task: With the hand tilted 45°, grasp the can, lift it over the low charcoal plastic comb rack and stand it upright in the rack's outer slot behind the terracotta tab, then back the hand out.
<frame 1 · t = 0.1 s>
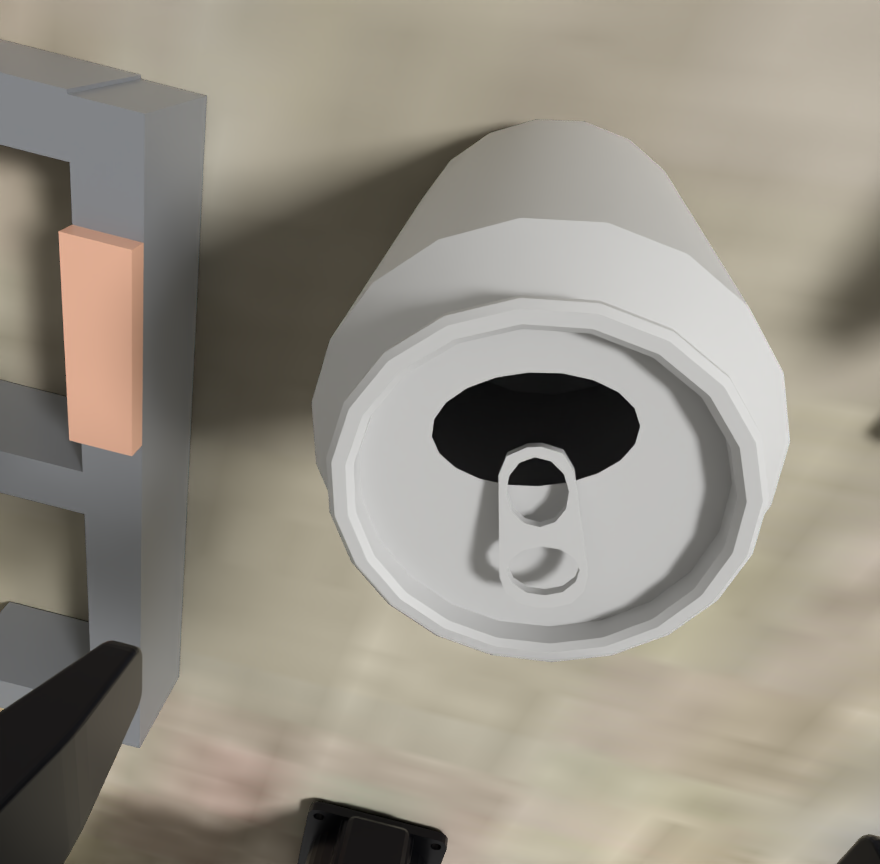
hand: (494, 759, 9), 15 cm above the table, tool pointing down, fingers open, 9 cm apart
can: (546, 257, 21), on the table
comb rack: (87, 426, 26), on the table
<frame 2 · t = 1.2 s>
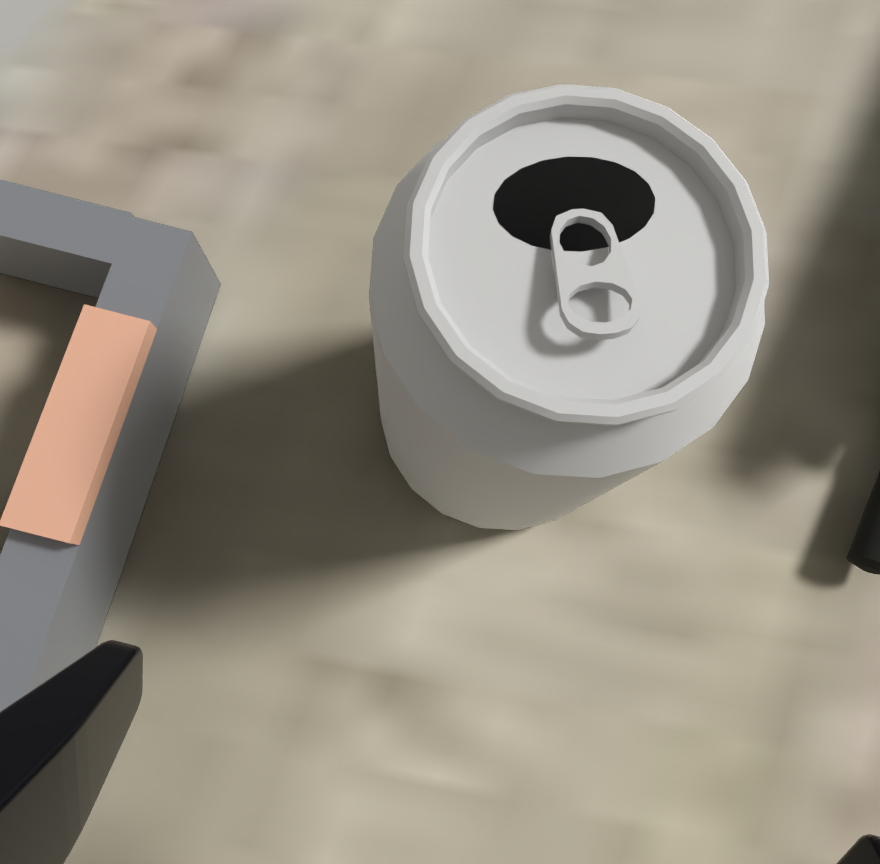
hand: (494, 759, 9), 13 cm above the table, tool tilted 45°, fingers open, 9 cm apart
can: (497, 417, 24), on the table
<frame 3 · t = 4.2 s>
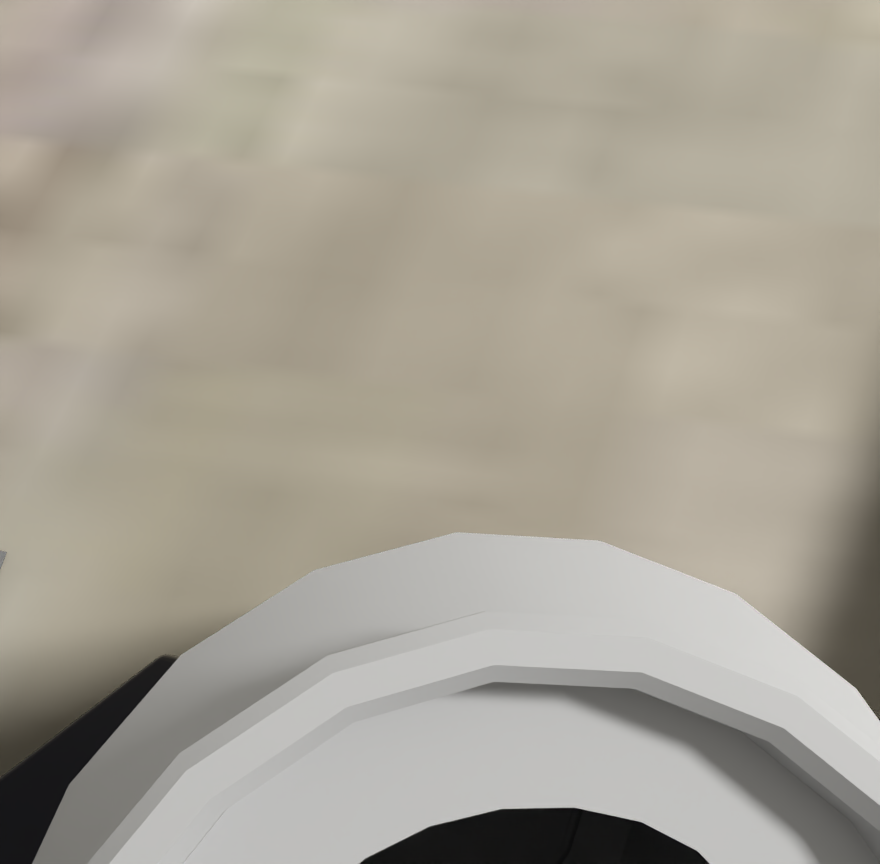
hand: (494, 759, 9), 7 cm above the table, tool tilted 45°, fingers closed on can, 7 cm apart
can: (437, 766, 15), on the table, touching gripper
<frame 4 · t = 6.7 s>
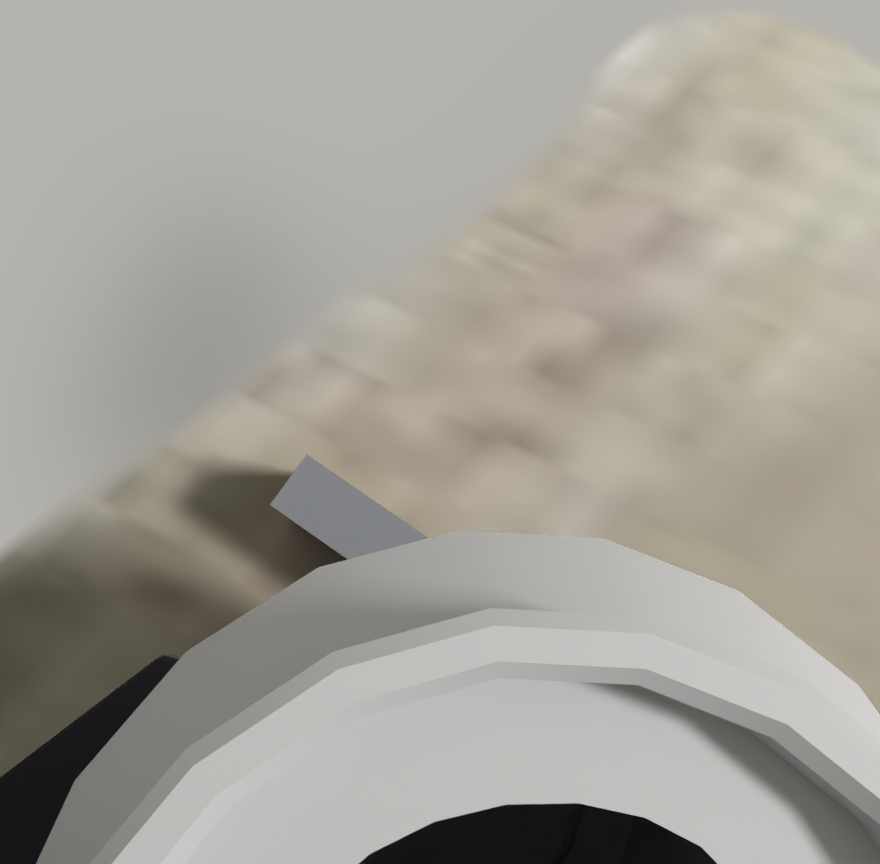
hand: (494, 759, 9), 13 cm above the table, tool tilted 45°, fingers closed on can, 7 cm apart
can: (439, 764, 15), point 6 cm above the table, touching gripper
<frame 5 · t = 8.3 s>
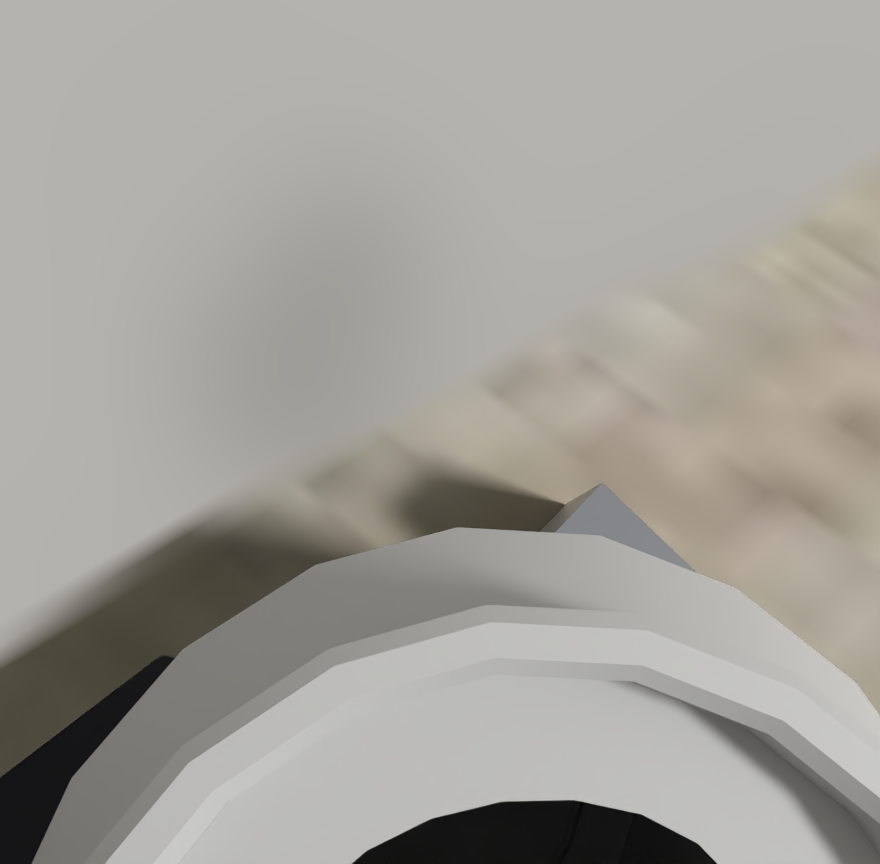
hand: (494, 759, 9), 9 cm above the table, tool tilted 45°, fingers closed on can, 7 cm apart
can: (438, 763, 15), point 2 cm above the table, touching gripper
when the fingers open (8 cm above the table, at t = 9.6 s): can drops 1 cm, on the table.
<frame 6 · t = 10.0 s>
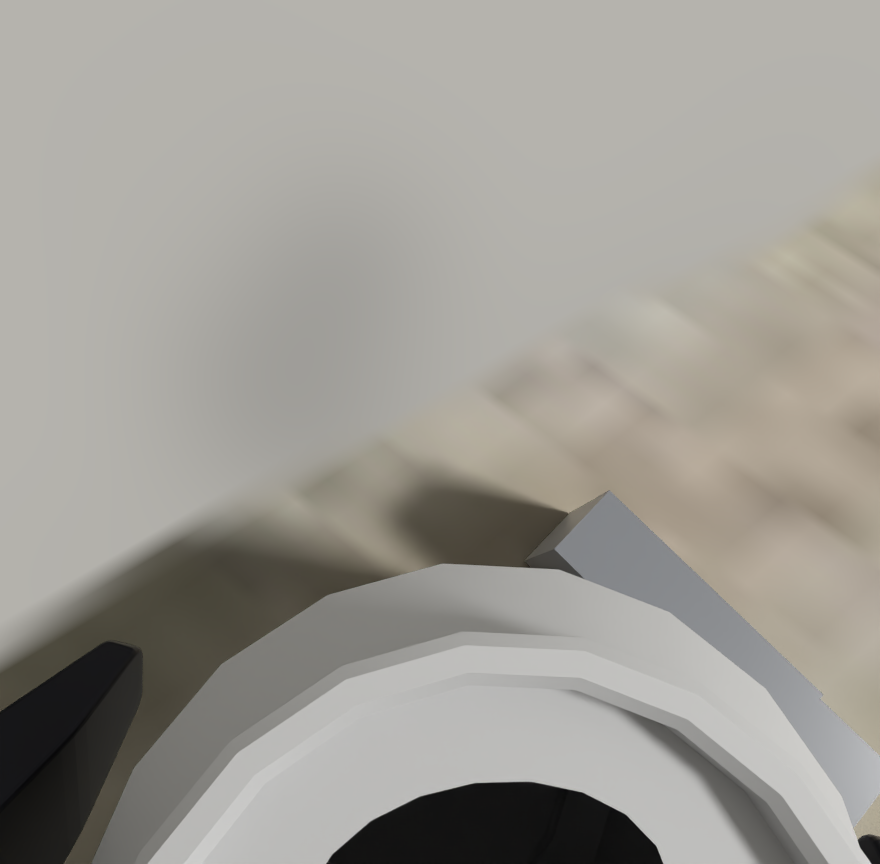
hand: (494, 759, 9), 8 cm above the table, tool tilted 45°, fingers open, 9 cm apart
can: (432, 761, 17), on the table
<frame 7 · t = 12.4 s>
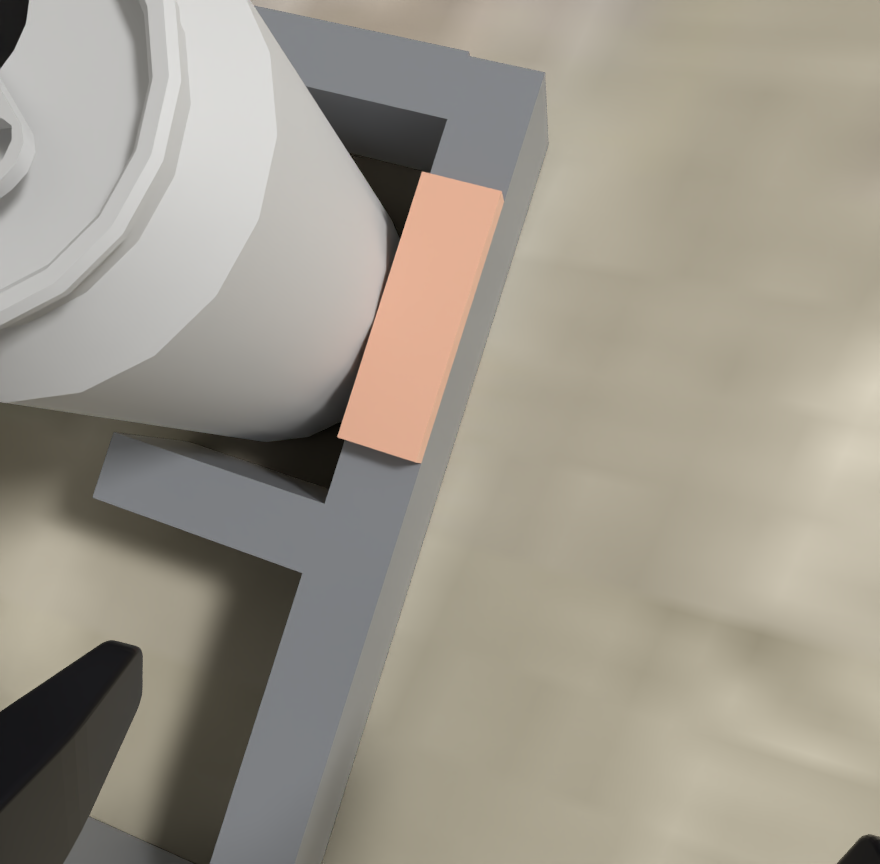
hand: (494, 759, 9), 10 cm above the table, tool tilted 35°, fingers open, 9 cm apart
can: (289, 310, 21), on the table
comb rack: (293, 516, 20), on the table
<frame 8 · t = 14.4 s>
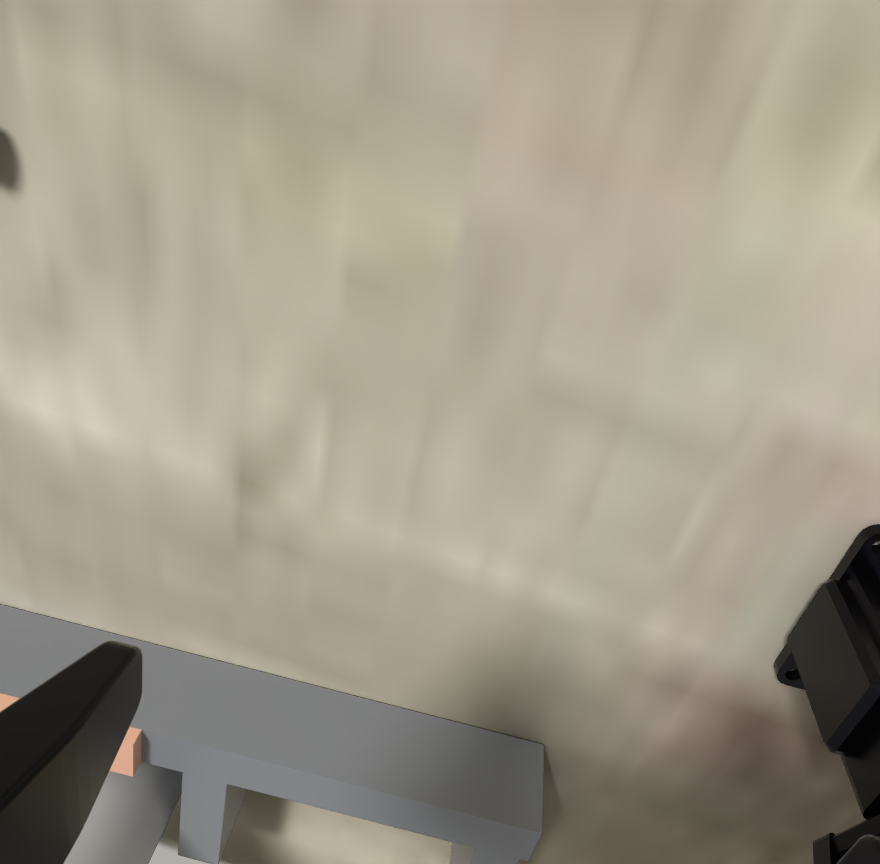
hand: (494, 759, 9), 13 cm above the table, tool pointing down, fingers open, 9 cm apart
can: (117, 721, 32), on the table
comb rack: (242, 728, 30), on the table
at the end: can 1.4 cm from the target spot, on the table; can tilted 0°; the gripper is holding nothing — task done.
